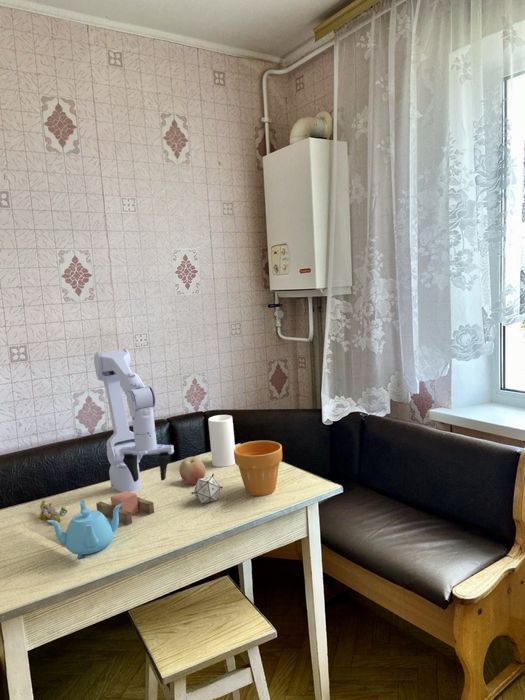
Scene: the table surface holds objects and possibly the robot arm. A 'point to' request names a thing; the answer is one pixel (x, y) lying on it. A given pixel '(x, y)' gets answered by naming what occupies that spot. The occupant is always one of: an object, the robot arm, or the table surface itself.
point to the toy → (50, 512)
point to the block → (126, 501)
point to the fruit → (192, 470)
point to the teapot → (87, 531)
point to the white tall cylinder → (222, 440)
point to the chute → (123, 514)
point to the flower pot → (258, 465)
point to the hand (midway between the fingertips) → (149, 479)
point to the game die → (206, 489)
